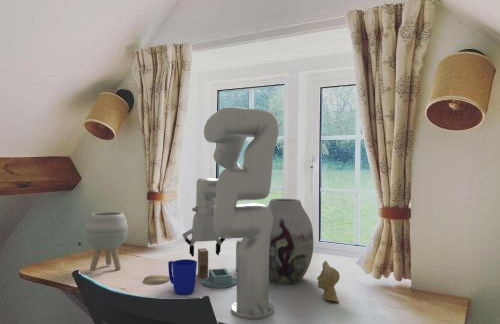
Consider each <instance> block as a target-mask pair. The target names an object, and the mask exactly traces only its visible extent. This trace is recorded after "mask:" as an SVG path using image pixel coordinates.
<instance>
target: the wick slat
mask: <svg viewBox="0 0 500 324" xmlns="http://www.w3.org/2000/svg"><path fill="white" fill-rule="evenodd" d="M197 277H199V278H200V279H204V278H206V277H209V250H208V249H207V248H206V247H204V248H197Z"/></svg>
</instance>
